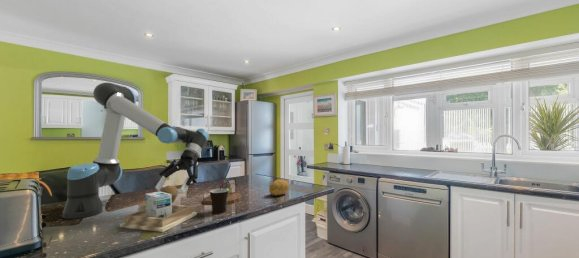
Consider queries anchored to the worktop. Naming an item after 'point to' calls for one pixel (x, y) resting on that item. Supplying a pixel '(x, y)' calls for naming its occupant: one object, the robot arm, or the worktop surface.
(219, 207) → the coffee mug
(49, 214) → the worktop surface
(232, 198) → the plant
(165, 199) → the light bulb box
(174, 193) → the natural sponge
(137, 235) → the worktop surface
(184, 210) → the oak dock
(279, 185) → the potato
